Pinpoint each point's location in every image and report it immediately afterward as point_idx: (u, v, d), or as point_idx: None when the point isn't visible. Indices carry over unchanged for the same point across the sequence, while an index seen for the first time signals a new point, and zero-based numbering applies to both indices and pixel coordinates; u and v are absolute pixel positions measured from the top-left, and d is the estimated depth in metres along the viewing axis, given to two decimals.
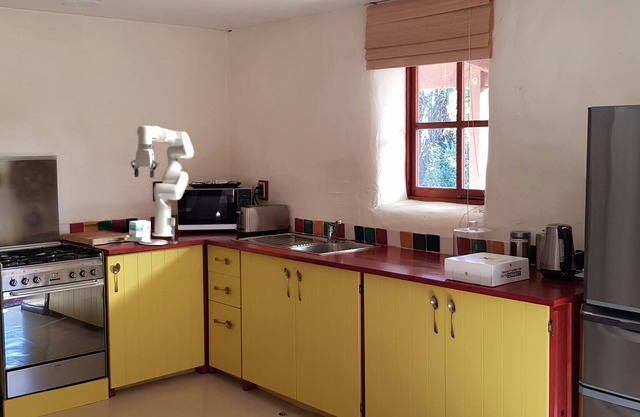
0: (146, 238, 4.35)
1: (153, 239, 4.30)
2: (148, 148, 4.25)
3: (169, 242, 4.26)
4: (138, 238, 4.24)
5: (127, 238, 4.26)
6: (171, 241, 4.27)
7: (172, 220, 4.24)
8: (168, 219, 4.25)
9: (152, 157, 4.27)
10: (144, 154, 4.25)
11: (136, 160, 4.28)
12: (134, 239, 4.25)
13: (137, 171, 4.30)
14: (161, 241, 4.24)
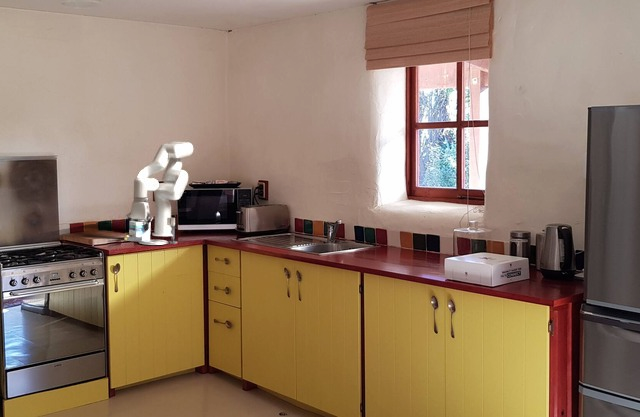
0: (146, 238, 4.35)
1: (153, 239, 4.30)
2: (143, 201, 4.30)
3: (169, 242, 4.26)
4: (138, 238, 4.24)
5: (127, 238, 4.26)
6: (171, 241, 4.27)
7: (172, 220, 4.24)
8: (168, 219, 4.25)
9: (147, 210, 4.32)
10: (139, 207, 4.31)
11: (131, 213, 4.33)
12: (134, 239, 4.25)
13: None
14: (161, 241, 4.24)
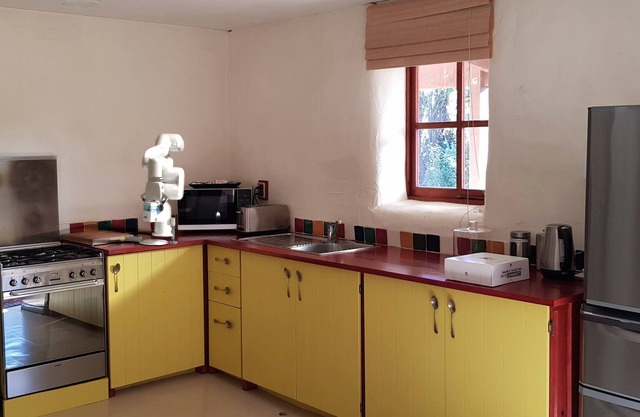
0: (161, 219, 4.21)
1: (153, 239, 4.30)
2: (158, 181, 4.16)
3: (169, 242, 4.26)
4: (138, 238, 4.24)
5: (127, 238, 4.26)
6: (171, 241, 4.27)
7: (172, 220, 4.24)
8: (168, 219, 4.25)
9: (162, 190, 4.18)
10: (154, 187, 4.17)
11: (146, 193, 4.19)
12: (134, 239, 4.25)
13: None
14: (161, 241, 4.24)
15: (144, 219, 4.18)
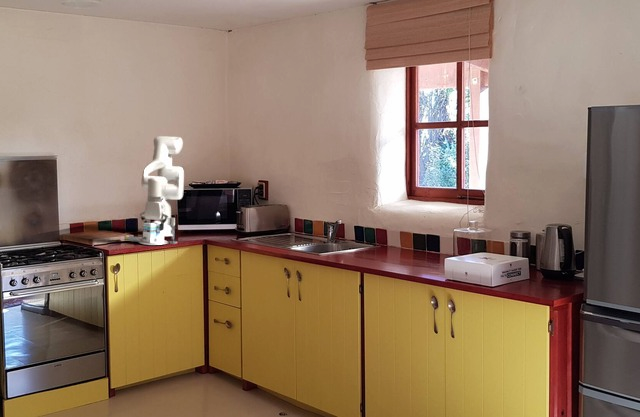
0: (160, 240, 4.23)
1: None
2: (158, 200, 4.17)
3: (169, 242, 4.26)
4: (138, 238, 4.24)
5: (127, 238, 4.26)
6: (171, 241, 4.27)
7: (172, 220, 4.24)
8: (168, 219, 4.25)
9: (162, 209, 4.19)
10: (154, 207, 4.18)
11: (145, 212, 4.20)
12: (134, 239, 4.25)
13: None
14: None
15: (144, 240, 4.20)
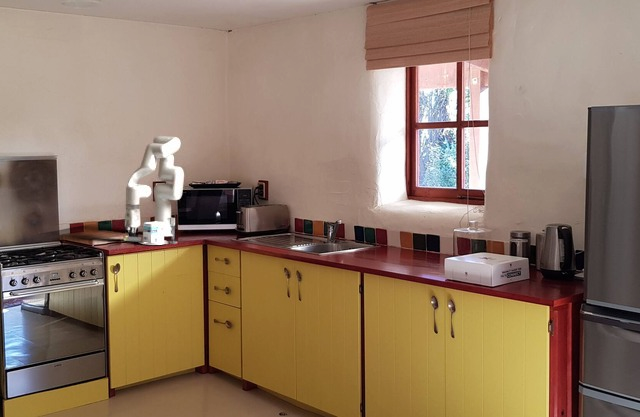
0: (160, 240, 4.23)
1: None
2: (126, 208, 4.23)
3: (169, 242, 4.26)
4: (138, 238, 4.23)
5: (126, 238, 4.25)
6: (171, 241, 4.27)
7: (172, 220, 4.24)
8: (168, 219, 4.25)
9: (128, 217, 4.22)
10: None
11: None
12: (133, 239, 4.24)
13: None
14: (161, 241, 4.24)
15: (144, 240, 4.19)
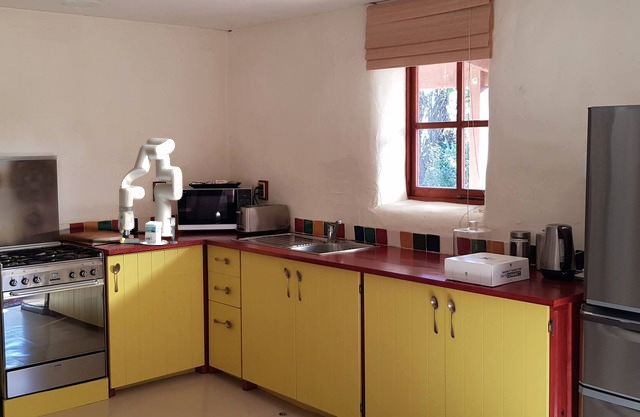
0: (159, 239, 4.25)
1: None
2: (119, 210, 4.16)
3: (169, 242, 4.26)
4: (137, 239, 4.19)
5: (124, 240, 4.17)
6: (171, 241, 4.27)
7: (172, 220, 4.24)
8: (168, 219, 4.25)
9: (121, 220, 4.15)
10: None
11: None
12: (132, 241, 4.18)
13: None
14: None
15: (147, 241, 4.18)
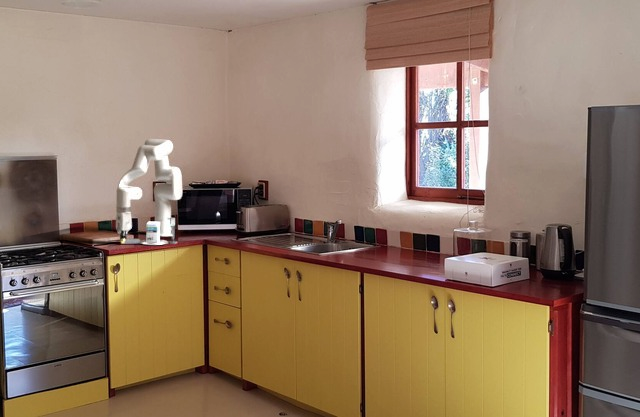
0: (159, 239, 4.25)
1: None
2: (117, 211, 4.14)
3: (169, 242, 4.26)
4: (137, 240, 4.18)
5: (125, 241, 4.15)
6: (171, 241, 4.27)
7: (172, 220, 4.24)
8: (168, 219, 4.25)
9: (118, 220, 4.12)
10: None
11: None
12: (133, 241, 4.17)
13: None
14: None
15: (148, 241, 4.17)
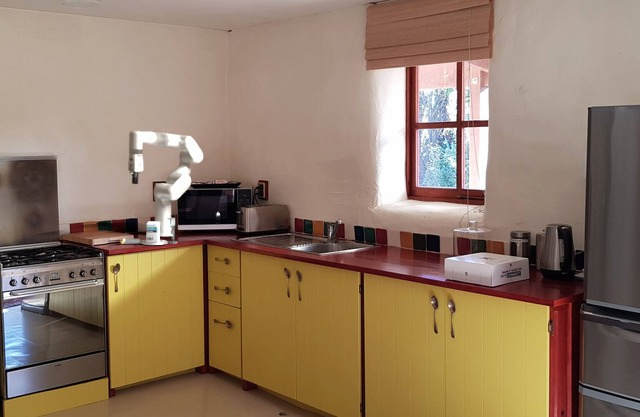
0: (159, 239, 4.25)
1: None
2: (130, 153, 4.31)
3: (169, 242, 4.26)
4: (137, 240, 4.18)
5: (125, 241, 4.15)
6: (171, 241, 4.27)
7: (172, 220, 4.24)
8: (168, 219, 4.25)
9: (131, 162, 4.30)
10: None
11: None
12: (133, 241, 4.17)
13: None
14: None
15: (148, 241, 4.17)
